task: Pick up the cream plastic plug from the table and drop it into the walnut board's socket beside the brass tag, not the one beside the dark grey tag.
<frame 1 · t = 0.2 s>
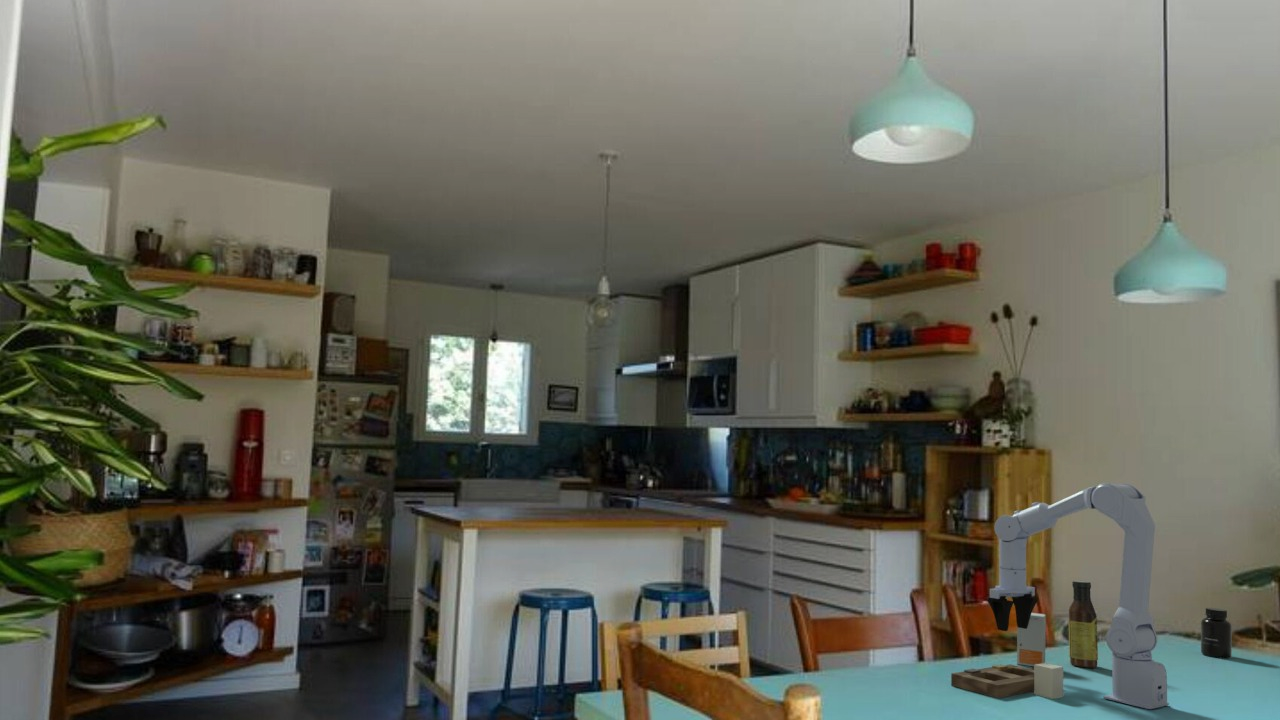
hand: (1012, 629, 212), 10 cm above the table, fingers open, 7 cm apart
brass tag: (1000, 667, 205), resting on socket board
skincare box: (1031, 666, 221), on the table
grey tag: (972, 672, 199), resting on socket board
plug: (1048, 695, 192), on the table
supplement bottle: (1216, 656, 243), on the table
sauce bottle: (1083, 666, 223), on the table
socket board: (1004, 686, 198), on the table
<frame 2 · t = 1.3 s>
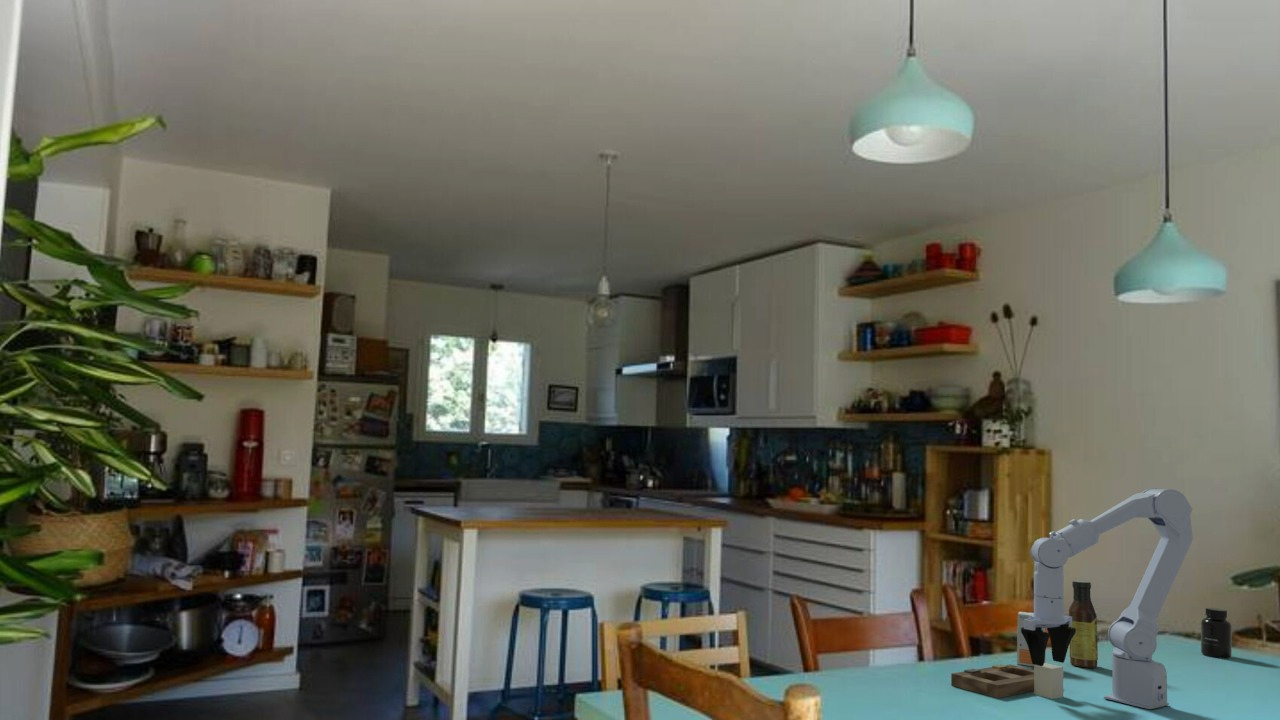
hand: (1048, 663, 193), 6 cm above the table, fingers open, 7 cm apart
nothing on the table moved.
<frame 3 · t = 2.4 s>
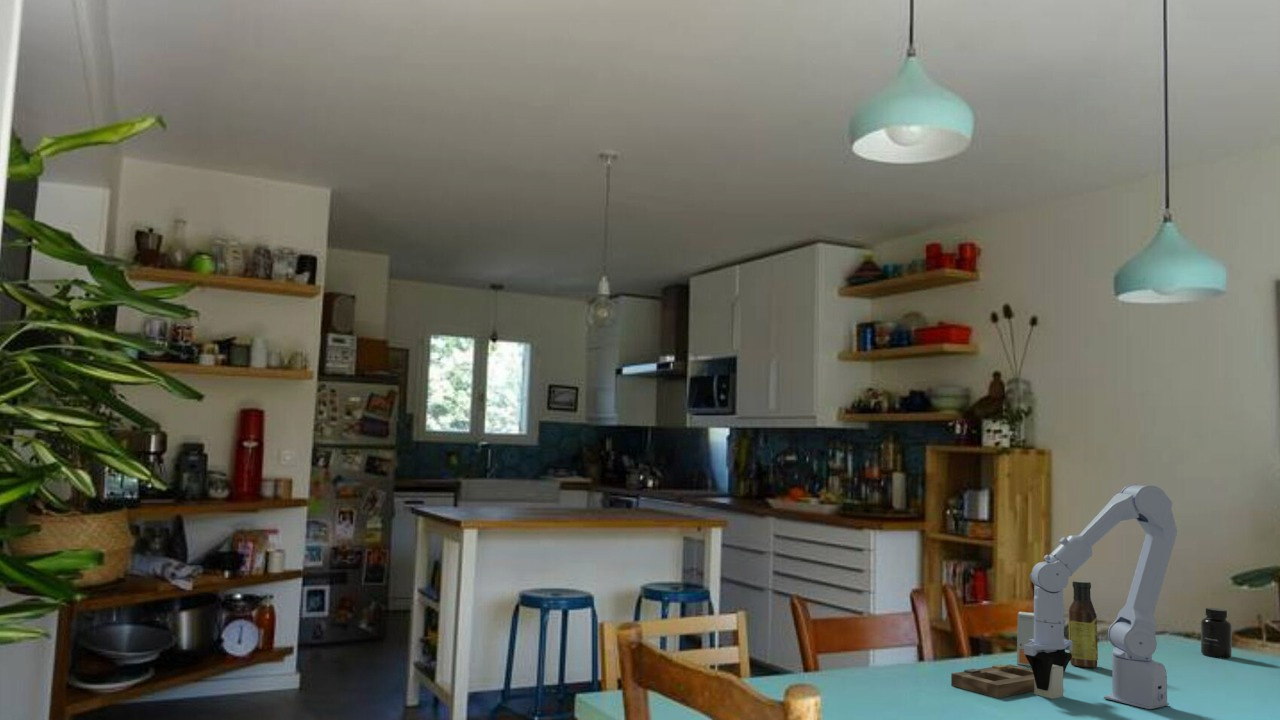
hand: (1048, 688, 192), 1 cm above the table, fingers closed on plug, 4 cm apart
plug: (1048, 695, 192), on the table, touching gripper
everything else where it was.
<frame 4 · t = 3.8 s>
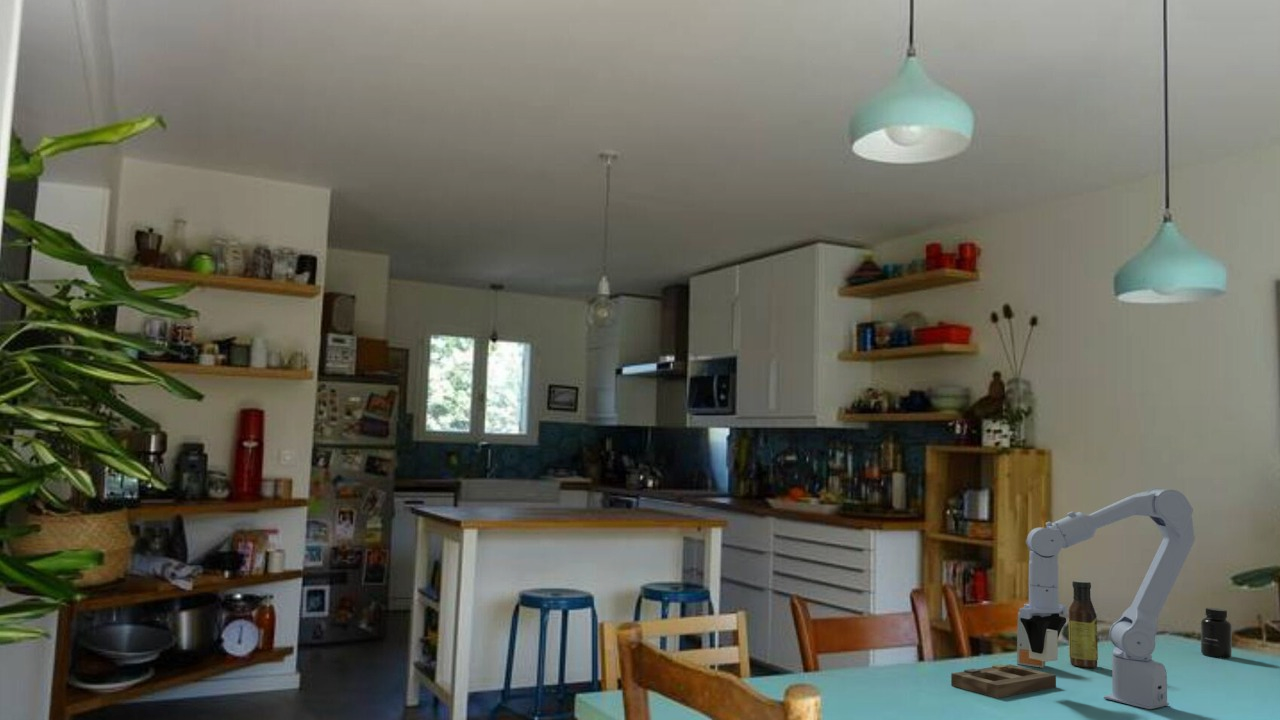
hand: (1043, 651, 194), 8 cm above the table, fingers closed on plug, 4 cm apart
plug: (1043, 659, 194), point 7 cm above the table, touching gripper
everything else where it was.
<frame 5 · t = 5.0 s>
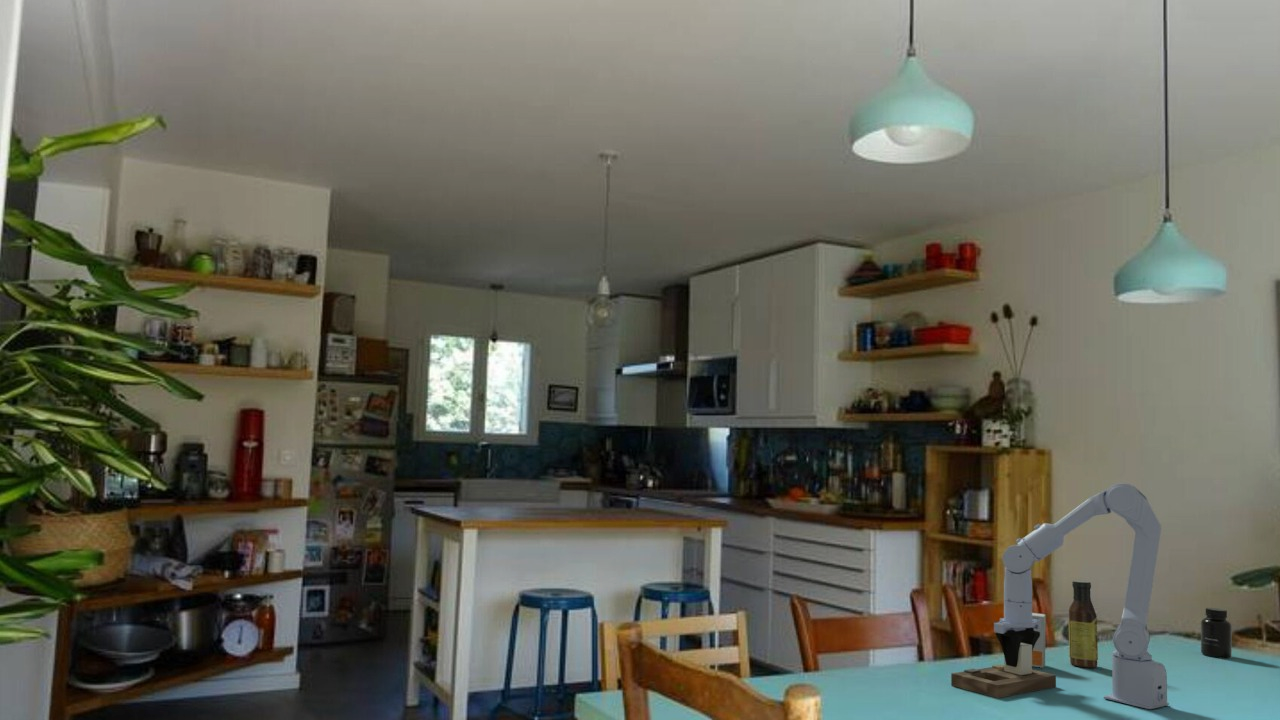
hand: (1017, 664, 201), 4 cm above the table, fingers closed on plug, 4 cm apart
plug: (1018, 672, 201), point 2 cm above the table, touching gripper
everything else where it was.
when the fingers open (3 cm above the table, at t = 5.5 s): plug drops 2 cm, resting in socket board.
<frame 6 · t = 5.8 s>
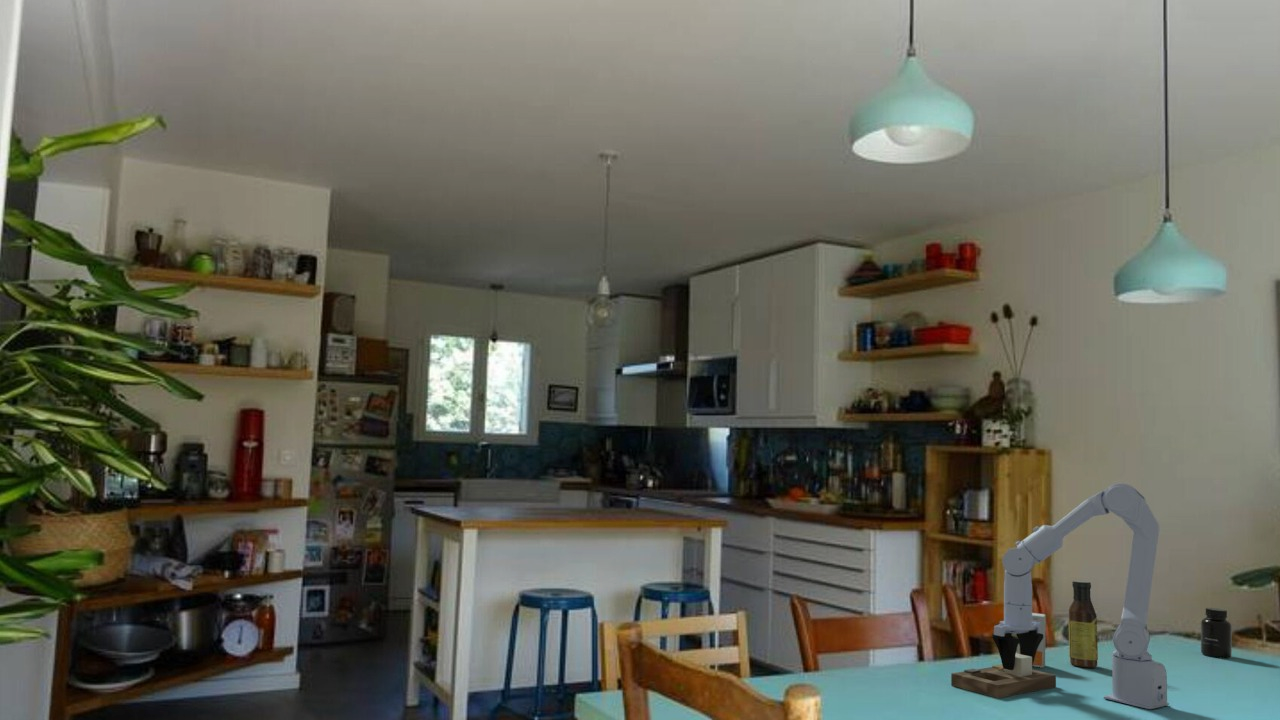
hand: (1017, 667, 201), 3 cm above the table, fingers open, 6 cm apart
plug: (1018, 684, 201), resting in socket board
everything else where it was.
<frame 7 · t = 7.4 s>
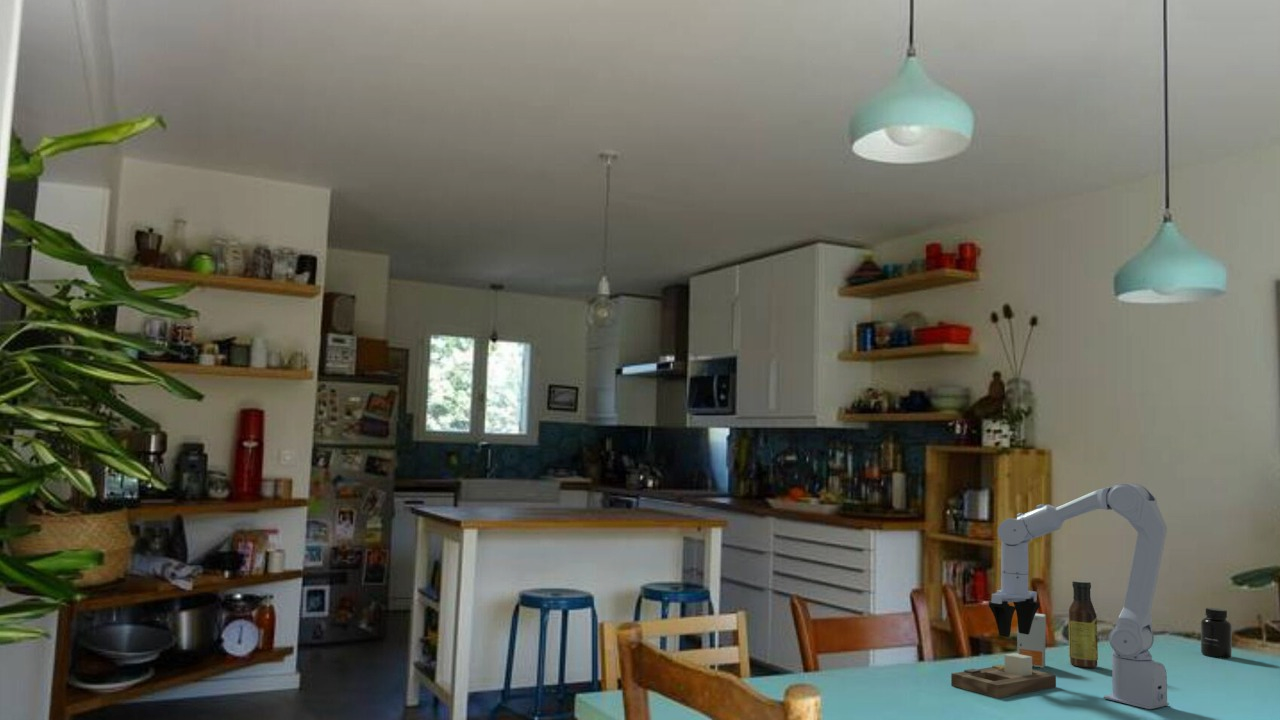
hand: (1014, 635, 206), 9 cm above the table, fingers open, 7 cm apart
nothing on the table moved.
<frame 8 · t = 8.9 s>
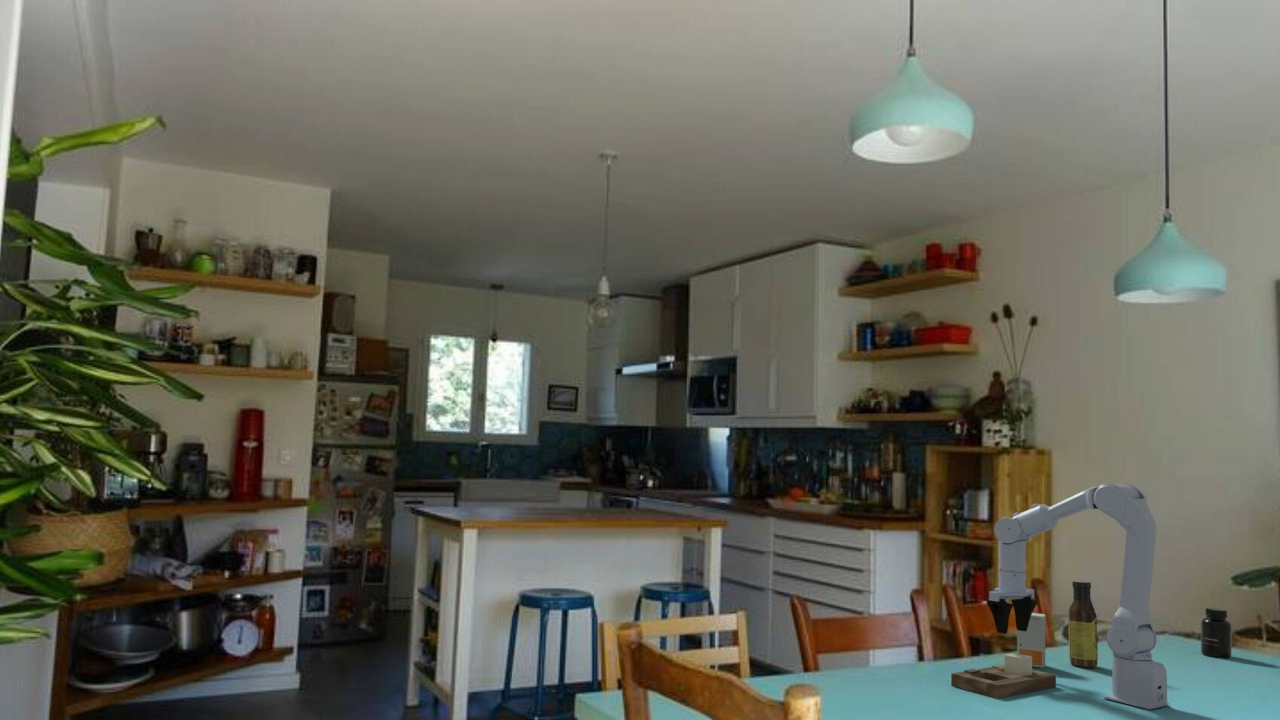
hand: (1011, 631, 211), 9 cm above the table, fingers open, 7 cm apart
nothing on the table moved.
at the end: plug 0.1 cm from the target spot on the socket board, point 0.0 cm above the socket board's base; plug tilted 0°; the gripper is holding nothing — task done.
